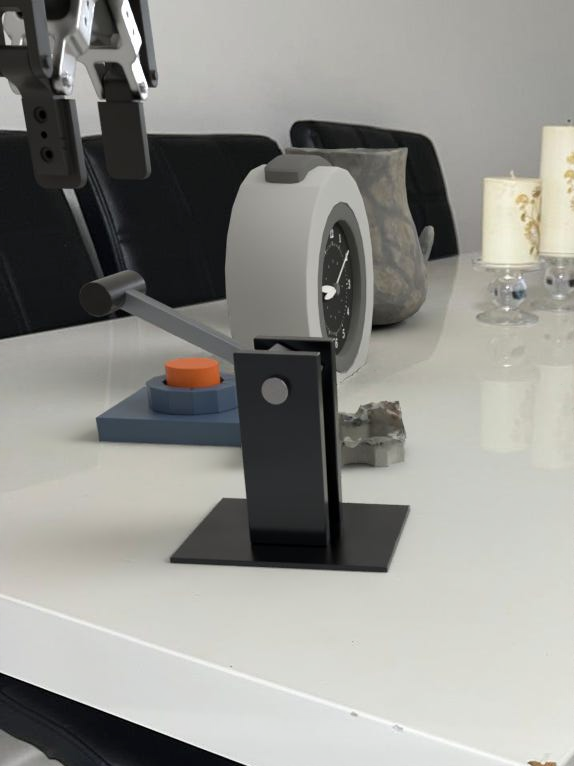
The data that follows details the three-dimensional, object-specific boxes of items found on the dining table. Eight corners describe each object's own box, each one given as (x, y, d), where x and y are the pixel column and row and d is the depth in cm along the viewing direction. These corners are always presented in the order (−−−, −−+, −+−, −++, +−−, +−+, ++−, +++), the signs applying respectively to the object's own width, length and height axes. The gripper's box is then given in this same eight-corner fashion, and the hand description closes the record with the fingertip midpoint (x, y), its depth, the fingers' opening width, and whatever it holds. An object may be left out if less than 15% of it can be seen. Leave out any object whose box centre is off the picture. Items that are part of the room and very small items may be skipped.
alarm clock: (312, 403, 89) (298, 158, 80) (233, 397, 91) (211, 156, 81) (376, 356, 108) (370, 153, 99) (310, 352, 109) (299, 151, 100)
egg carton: (406, 452, 77) (406, 399, 75) (406, 482, 70) (406, 425, 68) (267, 450, 76) (263, 397, 74) (253, 481, 70) (249, 423, 68)
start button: (159, 390, 76) (156, 367, 75) (177, 379, 79) (174, 356, 78) (211, 392, 75) (209, 369, 75) (226, 380, 79) (224, 358, 78)
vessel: (261, 339, 115) (245, 146, 106) (271, 308, 134) (259, 143, 125) (448, 338, 118) (448, 150, 108) (432, 308, 137) (431, 146, 128)
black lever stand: (171, 577, 55) (142, 360, 49) (224, 515, 64) (204, 324, 58) (387, 587, 54) (382, 368, 49) (410, 522, 63) (408, 331, 58)
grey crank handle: (73, 313, 51) (85, 269, 50) (111, 299, 56) (123, 258, 54) (293, 421, 53) (309, 380, 52) (313, 398, 57) (328, 360, 56)
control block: (100, 452, 75) (91, 393, 73) (148, 418, 84) (141, 364, 82) (258, 459, 74) (252, 399, 72) (289, 423, 83) (285, 369, 81)
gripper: (30, -183, 50) (84, 176, 57) (-147, -289, 37) (-48, 190, 44) (178, -182, 49) (213, 178, 57) (50, -289, 37) (117, 193, 44)
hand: (98, 183), depth 51 cm, fingers open, 8 cm apart
